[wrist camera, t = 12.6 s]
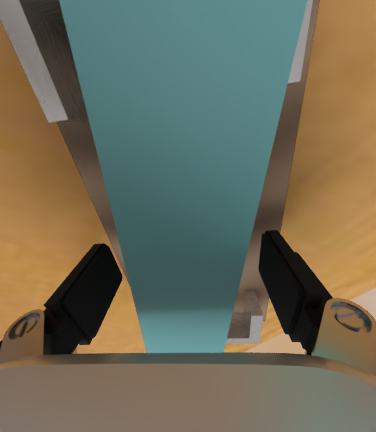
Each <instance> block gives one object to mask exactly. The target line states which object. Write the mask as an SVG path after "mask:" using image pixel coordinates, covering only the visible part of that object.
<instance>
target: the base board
mask: <svg viewBox="0 0 376 432" xmlns="http://www.w3.org/2000/svg"><path fill="white" fill-rule="evenodd" d="M319 1H320V0H313V3H312V9H311V16H310V22H309V28H308V35H307V41H306V47H305V54H304V60H303V67H302V73H301V79H300V82H298V83H295V84H293V85H290V86H287V88H286V93H285V97H284V101H283V105H282V109H281V114H280V118H279V122H278V126H277V130H276V134H275V139H274V143H273V147H272V151H271V155H270V160H269V164H268V168H267V172H266V176H265V181H264V185H263V189H262V193H261V197H260V201H259V206H258V210H257V214H256V218H255V222H254V227H253V231H252V235H251V239H250V243H249V248H248V252H247V256H246V260H245V264H244V268H243V273H242V277H241V281H240V285H239V289H238V294H237V298H236V302H235V306H234V310H233V313H243V306H244V290H255V292H256V295H257V298H258V301H259V304H260V307H261V310H262V313H263V321H265V319H266V313H267V307H268V301H269V295H268V292H267V290H266V288H265V285H264V283H263V280H262V278H261V276H260V273H259V269H258V266H259V257H260V247H261V238H262V234H263V233H265V231H268V230H278V232H279V233H280V231H281V225H282V219H283V213H284V207H285V201H286V195H287V190H288V184H289V178H290V172H291V166H292V160H293V154H294V148H295V142H296V137H297V131H298V125H299V119H300V113H301V107H302V101H303V95H304V90H305V84H306V78H307V72H308V66H309V60H310V54H311V48H312V42H313V37H314V31H315V25H316V19H317V13H318V7H319ZM66 31H67V30H66ZM57 124H58V126H59V129H60V131H61V133H62V135H63V137H64V140H65V142H66V144H67V146H68V149H69V151H70V153H71V155H72V158H73V160H74V162H75V164H76V166H77V169H78V171H79V173H80V175H81V178H82V180H83V182H84V184H85V187H86V189H87V191H88V193H89V196H90V198H91V200H92V202H93V204H94V207H95V209H96V211H97V213H98V216H99V218H100V220H101V222H102V225H103V227H104V229H105V231H106V233H107V236H108V238H109V240H110V242H111V245H112V247H113V249H114V251H115V254H116V256H117V258H118V260H119V262H120V265H121V267H122V269H123V271H124V274H125V276H126V278H127V280H128V283H129V279H128V275H127V271H126V267H125V263H124V259H123V255H122V251H121V247H120V243H119V239H118V235H117V231H116V227H115V223H114V219H113V215H112V211H111V207H110V203H109V199H108V195H107V191H106V187H105V183H104V179H103V175H102V171H101V167H100V163H99V159H98V155H97V151H96V147H95V143H94V139H93V135H92V130H91V126H90V122H89V121H88V122H82V123H57ZM129 285H130V283H129Z"/></svg>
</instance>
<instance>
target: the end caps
mask: <svg viewBox="0 0 376 432" xmlns="http://www.w3.org/2000/svg"><path fill="white" fill-rule="evenodd" d="M312 3H313V0H308V1H307V5H306V9H305V13H304V17H303V21H302V26H301V30H300V34H299V38H298V42H297V47H296V51H295V55H294V59H293V63H292V67H291V72H290V76H289V80H288V84H287V86H290V85H293V84H295V83H298V82H300V79H301V73H302V67H303V60H304V54H305V47H306V41H307V35H308V28H309V22H310V16H311V9H312ZM0 20H1V22H2V24H3V26H4V29H5V31H6V33H7V35H8V37H9V39H10V41H11V44H12V46H13V48H14V50H15V52H16V54H17V56H18V58H19V61H20V63H21V65H22V67H23V69H24V71H25V73H26V75H27V78H28V80H29V82H30V84H31V86H32V88H33V90H34V93H35V95H36V97H37V99H38V101H39V103H40V105H41V107H42V110H43V112H44V114H45V116H46V118H47V120H48V122H49V123H82V122H88V121H89V118H88V114H87V110H86V106H85V102H84V98H83V94H82V90H81V86H80V82H79V78H78V74H77V70H76V66H75V62H74V58H73V54H72V50H71V46H70V42H69V38H68V34H67V31H66V26H65V22H64V18H63V14H62V10H61V6H60V2H59V0H0ZM262 322H263V313H262V310H261V307H260V304H259V301H258V298H257V295H256V292H255V290H244V306H243V313H233V314H232V319H231V323H230V327H229V331H228V335H227V340H226V344H234V343H259V341H260V335H261V328H262Z"/></svg>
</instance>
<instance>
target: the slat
mask: <svg viewBox="0 0 376 432" xmlns="http://www.w3.org/2000/svg"><path fill="white" fill-rule="evenodd" d="M307 1H308V0H59V2H60V6H61V10H62V14H63V18H64V22H65V26H66V30H67V34H68V38H69V42H70V46H71V50H72V54H73V58H74V62H75V66H76V70H77V74H78V78H79V82H80V86H81V90H82V94H83V98H84V102H85V106H86V110H87V114H88V118H89V122H90V126H91V130H92V135H93V139H94V143H95V147H96V151H97V155H98V159H99V163H100V167H101V171H102V175H103V179H104V183H105V187H106V191H107V195H108V199H109V203H110V207H111V211H112V215H113V219H114V223H115V227H116V231H117V235H118V239H119V243H120V247H121V251H122V255H123V259H124V263H125V267H126V271H127V275H128V279H129V283H130V287H131V291H132V295H133V299H134V303H135V307H136V311H137V315H138V319H139V323H140V327H141V331H142V335H143V339H144V343H145V347H146V351H147V353H223V352H224V348H225V344H226V340H227V335H228V331H229V327H230V323H231V319H232V314H233V310H234V306H235V302H236V298H237V294H238V289H239V285H240V281H241V277H242V273H243V268H244V264H245V260H246V256H247V252H248V248H249V243H250V239H251V235H252V231H253V227H254V222H255V218H256V214H257V210H258V206H259V201H260V197H261V193H262V189H263V185H264V181H265V176H266V172H267V168H268V164H269V160H270V155H271V151H272V147H273V143H274V139H275V134H276V130H277V126H278V122H279V118H280V114H281V109H282V105H283V101H284V97H285V93H286V88H287V84H288V80H289V76H290V72H291V67H292V63H293V59H294V55H295V51H296V47H297V42H298V38H299V34H300V30H301V26H302V21H303V17H304V13H305V9H306V5H307Z"/></svg>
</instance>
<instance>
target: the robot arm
mask: <svg viewBox="0 0 376 432" xmlns="http://www.w3.org/2000/svg"><path fill="white" fill-rule="evenodd" d="M258 269H259V273H260V276H261V278H262V280H263V283H264V285H265V288H266V290H267V292H268V295H269V297H270V300H271V302H272V304H273V307H274V309H275V312H276V314H277V316H278V319H279V321H280V324H281V326H282V328H283V331H284V332H285V334H289V336H290V338H291V340H292V342H300V343H301V345H302V347H303V349H305V350H306V351H305V355H304V354H289V353H107V354H77V352H76V347H77V345H78V343H79V344H80V345H90V343H91V341H92V338H94V337H95V336H96V334H97V332H98V330H99V328H100V326H101V324H102V322H103V320H104V317H105V315H106V313H107V311H108V309H109V307H110V305H111V302H112V300H113V298H114V296H115V294H116V292H117V290H118V287H119V285H120V283H121V281H122V274H121V272H120V269H119V267H118V265H117V263H116V261H115V259H114V257H113V254H112V252H111V250H110V248H109V246H107V245H106V244H95V245H93V246H92V248H91V249H90V250H89V251H88V252H87V254H86V255H85V256H84V257H83V258H82V260H81V261H80V262H79V263H78V264H77V266H76V267H75V268H74V269H73V270H72V272H71V273H70V274H69V275H68V277H67V278H66V279H65V280H64V281H63V283H62V284H61V285H60V286H59V287H58V289H57V290H56V291H55V292H54V293H53V295H52V296H51V297H50V298H49V299H48V301H47V302H46V303H45V304H44V306H45V307H46V309H45V311H42V310H40V309H37V310H32V311H30V312H28V313H26V314H24V315H23V316H21V317H20V318H18V319H17V320H16V321H15V322H14V323H13V324H12V325H11V326H10V327H9V328H8V329H7V331H6V332H5V335H4V337H3V340H2V341H1V342H0V432H376V321H375V319H374V317H373V316H372V315H371V314H370V313H369V312H368V311H366V310H365V309H364V308H362V307H361V306H360V305H357V304H356V303H354V302H352V301H349V300H346V299H341V298H333V297H332V296H331V295H330V294H329V292H328V291H327V290H326V288H325V287H324V286H323V284H322V283H321V282H320V281H319V279H318V278H317V277H316V275H315V274H314V273H313V272H312V270H311V269H310V268H309V266H308V265H307V264H306V263H305V261H304V260H303V259H302V257H301V256H300V255H299V254H298V253H296V252H293V250H292V249H291V248H290V246H289V245H288V244H287V242H286V241H285V240H284V238H283V237H282V236H281V234H280V233H279V232H278V230H268V231H265V233H263V234H262V238H261V247H260V257H259V266H258Z"/></svg>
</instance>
